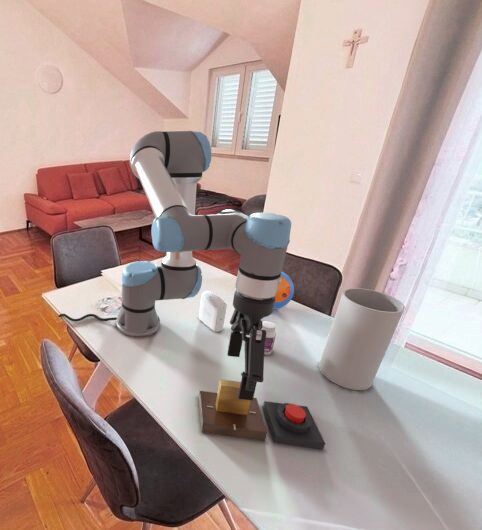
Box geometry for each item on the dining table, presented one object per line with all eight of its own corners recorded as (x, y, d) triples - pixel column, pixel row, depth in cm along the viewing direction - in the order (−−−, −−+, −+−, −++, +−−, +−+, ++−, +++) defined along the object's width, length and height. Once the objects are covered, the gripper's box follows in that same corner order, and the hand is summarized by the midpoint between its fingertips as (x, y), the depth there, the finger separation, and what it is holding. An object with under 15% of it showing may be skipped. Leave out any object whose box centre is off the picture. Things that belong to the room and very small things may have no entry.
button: (287, 422, 71) (289, 416, 71) (282, 408, 75) (283, 402, 74) (306, 424, 71) (308, 419, 70) (300, 410, 74) (301, 405, 74)
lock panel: (201, 434, 72) (203, 425, 71) (197, 397, 83) (199, 388, 81) (265, 444, 70) (268, 434, 69) (253, 404, 80) (256, 395, 79)
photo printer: (224, 330, 110) (229, 299, 105) (214, 333, 108) (219, 302, 103) (205, 315, 119) (209, 286, 114) (196, 318, 117) (200, 289, 112)
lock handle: (216, 411, 75) (221, 384, 72) (215, 404, 77) (219, 378, 73) (247, 415, 74) (253, 388, 70) (245, 408, 76) (251, 382, 72)
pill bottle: (273, 356, 97) (280, 330, 93) (255, 354, 98) (261, 328, 94) (269, 345, 102) (275, 320, 98) (252, 343, 103) (257, 318, 99)
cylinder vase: (361, 365, 93) (391, 292, 83) (378, 396, 83) (415, 316, 73) (313, 356, 97) (336, 285, 87) (324, 385, 86) (352, 307, 76)
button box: (274, 443, 70) (278, 430, 69) (262, 407, 79) (265, 395, 78) (322, 450, 69) (327, 437, 67) (305, 412, 78) (309, 401, 76)
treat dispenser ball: (283, 298, 130) (291, 265, 124) (294, 318, 116) (304, 282, 110) (243, 294, 133) (250, 261, 127) (250, 313, 120) (257, 277, 114)
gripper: (298, 329, 50) (272, 424, 59) (259, 268, 73) (244, 343, 81) (249, 325, 52) (231, 418, 60) (225, 266, 74) (214, 340, 82)
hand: (238, 375), depth 71 cm, fingers open, 13 cm apart
